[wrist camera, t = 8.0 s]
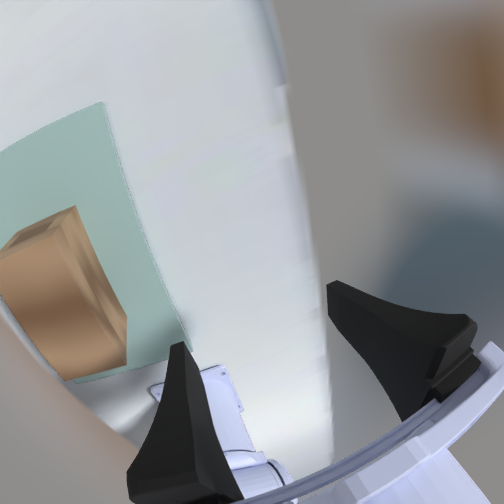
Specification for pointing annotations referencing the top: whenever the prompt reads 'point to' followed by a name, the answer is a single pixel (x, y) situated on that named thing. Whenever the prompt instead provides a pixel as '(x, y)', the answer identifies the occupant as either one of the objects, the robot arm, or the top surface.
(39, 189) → the pin board
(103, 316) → the box
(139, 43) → the top surface
